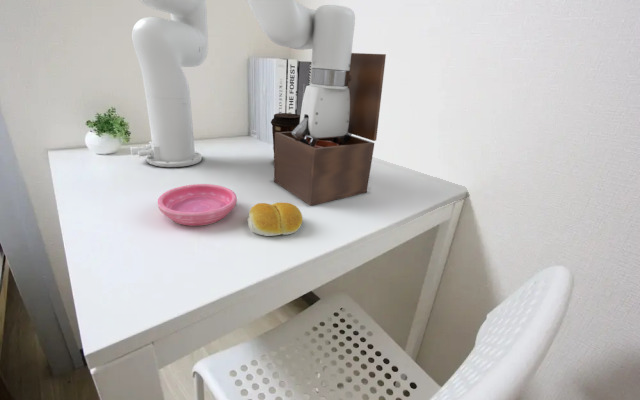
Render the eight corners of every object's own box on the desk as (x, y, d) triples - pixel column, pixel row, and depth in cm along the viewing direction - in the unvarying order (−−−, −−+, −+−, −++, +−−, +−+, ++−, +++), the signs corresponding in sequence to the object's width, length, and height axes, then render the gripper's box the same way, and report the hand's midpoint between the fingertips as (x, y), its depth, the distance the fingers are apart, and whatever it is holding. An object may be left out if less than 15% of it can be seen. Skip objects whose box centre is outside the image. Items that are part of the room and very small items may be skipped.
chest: (310, 205, 60) (315, 149, 55) (273, 181, 70) (274, 132, 66) (366, 192, 69) (374, 142, 64) (326, 172, 79) (331, 128, 75)
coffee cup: (304, 161, 87) (307, 114, 82) (299, 170, 80) (302, 119, 74) (273, 157, 88) (275, 111, 82) (266, 166, 80) (267, 115, 75)
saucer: (250, 217, 53) (250, 200, 52) (177, 239, 45) (175, 220, 44) (216, 194, 61) (215, 179, 60) (149, 209, 53) (146, 192, 52)
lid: (383, 54, 57) (401, 54, 60) (333, 52, 67) (350, 52, 70) (373, 141, 64) (390, 137, 67) (330, 127, 74) (346, 124, 77)
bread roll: (308, 234, 50) (310, 212, 48) (253, 241, 47) (252, 217, 45) (293, 212, 57) (294, 192, 55) (244, 216, 53) (243, 195, 52)
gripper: (349, 80, 68) (340, 157, 75) (281, 76, 58) (279, 166, 65) (373, 83, 63) (362, 166, 70) (303, 79, 53) (298, 177, 60)
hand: (322, 165), depth 68 cm, fingers closed on tumbler, 6 cm apart
